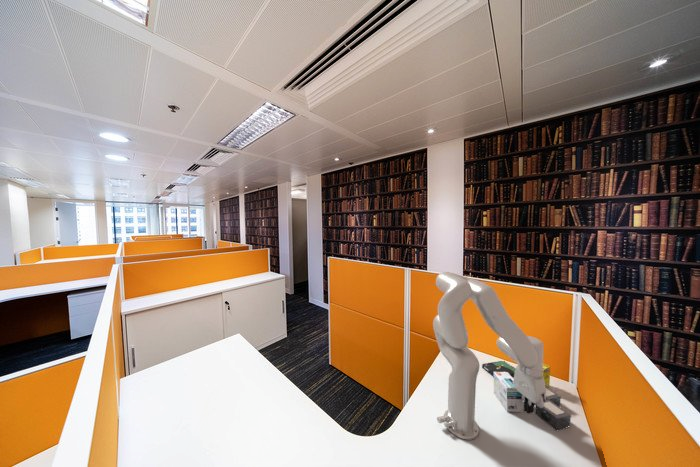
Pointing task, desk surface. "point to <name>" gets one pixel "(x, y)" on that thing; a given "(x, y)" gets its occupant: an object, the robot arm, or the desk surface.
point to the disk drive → (499, 368)
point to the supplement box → (546, 374)
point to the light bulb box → (507, 392)
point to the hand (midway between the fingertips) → (528, 411)
